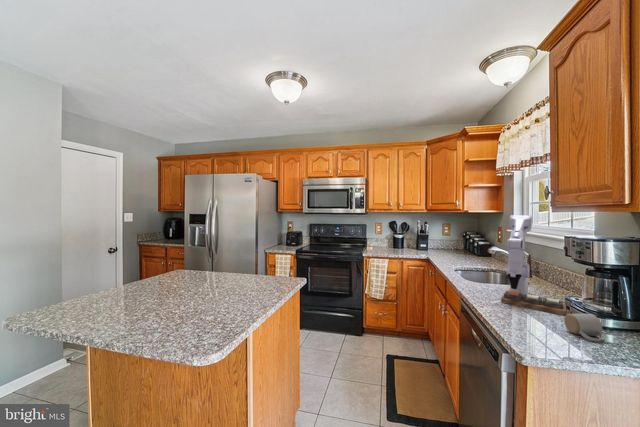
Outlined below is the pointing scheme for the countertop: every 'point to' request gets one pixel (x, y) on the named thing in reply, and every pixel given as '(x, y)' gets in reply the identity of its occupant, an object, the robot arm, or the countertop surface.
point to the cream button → (532, 296)
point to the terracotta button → (514, 292)
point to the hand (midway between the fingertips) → (513, 288)
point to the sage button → (552, 300)
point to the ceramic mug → (584, 325)
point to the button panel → (534, 303)
